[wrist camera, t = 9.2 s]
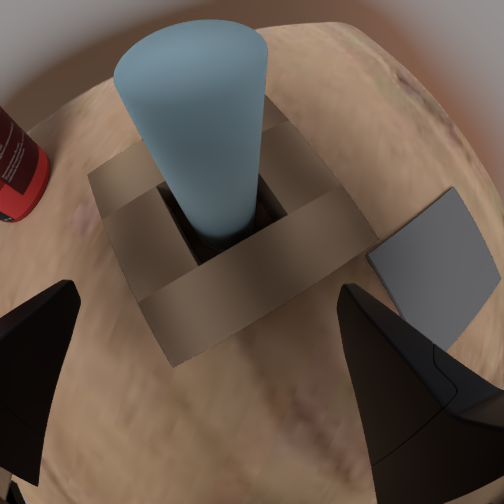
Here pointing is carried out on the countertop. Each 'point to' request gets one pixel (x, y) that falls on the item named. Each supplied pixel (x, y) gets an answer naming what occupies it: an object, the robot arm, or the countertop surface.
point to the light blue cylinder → (202, 119)
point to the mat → (438, 270)
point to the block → (237, 257)
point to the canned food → (19, 171)
